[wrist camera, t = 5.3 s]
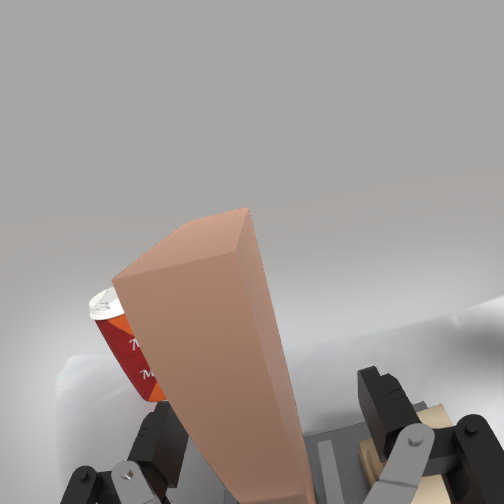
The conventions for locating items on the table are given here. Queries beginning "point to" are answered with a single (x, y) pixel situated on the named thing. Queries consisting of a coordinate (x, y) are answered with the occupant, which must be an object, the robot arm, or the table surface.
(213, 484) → the table surface
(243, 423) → the pink rectangular bar
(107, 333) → the paper cup
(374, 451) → the offcut stack
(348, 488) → the rack
